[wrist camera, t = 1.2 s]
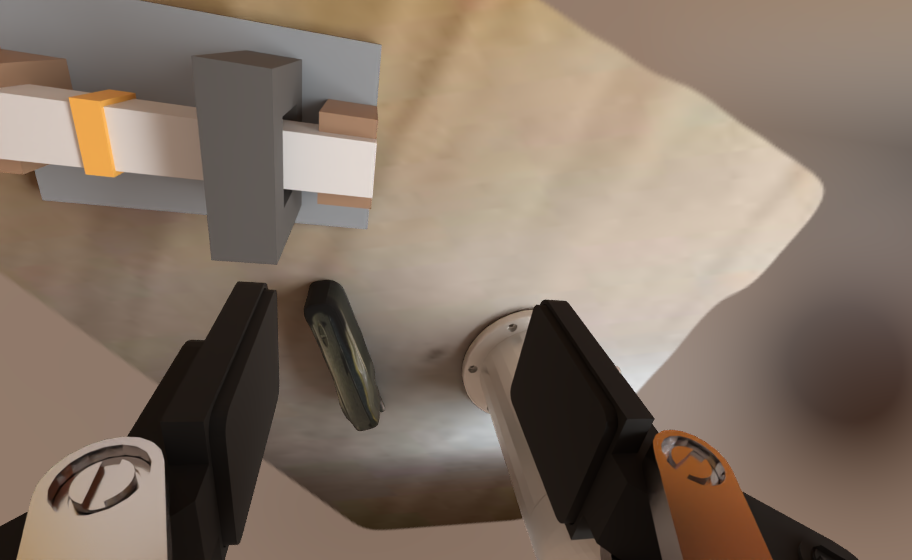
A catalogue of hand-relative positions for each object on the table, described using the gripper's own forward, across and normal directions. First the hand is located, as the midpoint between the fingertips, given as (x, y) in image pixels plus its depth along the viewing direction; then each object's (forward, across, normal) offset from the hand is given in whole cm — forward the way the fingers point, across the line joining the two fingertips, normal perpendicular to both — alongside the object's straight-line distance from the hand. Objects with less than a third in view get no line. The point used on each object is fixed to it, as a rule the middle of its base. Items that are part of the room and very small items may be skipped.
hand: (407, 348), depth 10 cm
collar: (+22, +7, 0) cm, 23 cm away
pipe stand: (+24, +11, 0) cm, 26 cm away
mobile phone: (+24, +1, +18) cm, 30 cm away
